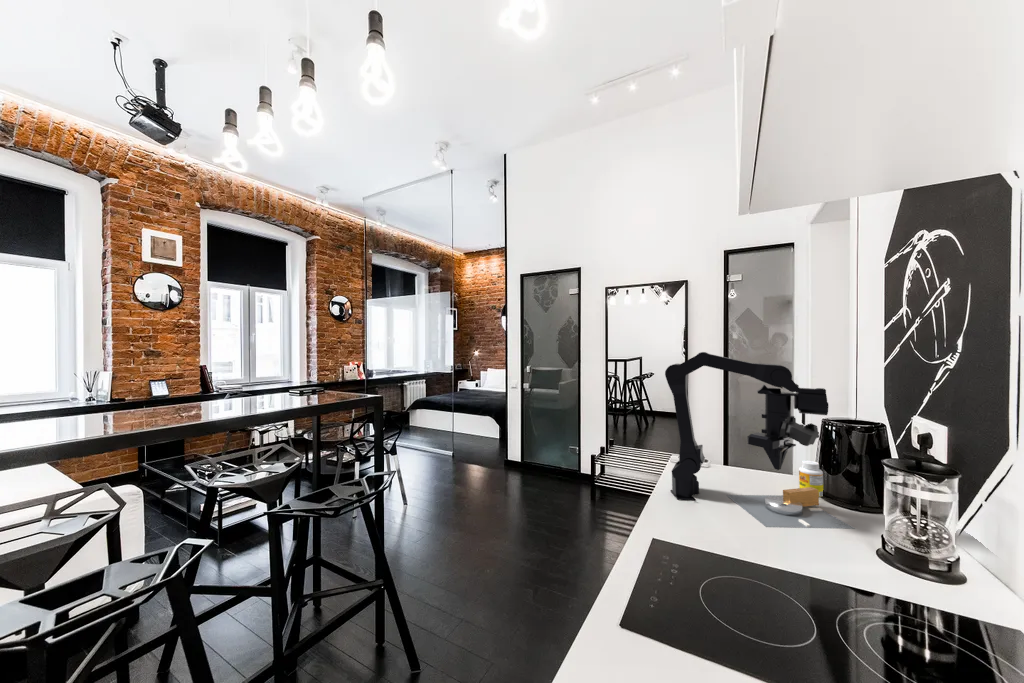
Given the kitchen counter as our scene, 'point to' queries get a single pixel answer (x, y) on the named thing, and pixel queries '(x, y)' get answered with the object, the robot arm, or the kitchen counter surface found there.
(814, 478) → the supplement bottle
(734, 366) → the robot arm
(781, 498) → the dial
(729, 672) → the kitchen counter surface
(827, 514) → the board
